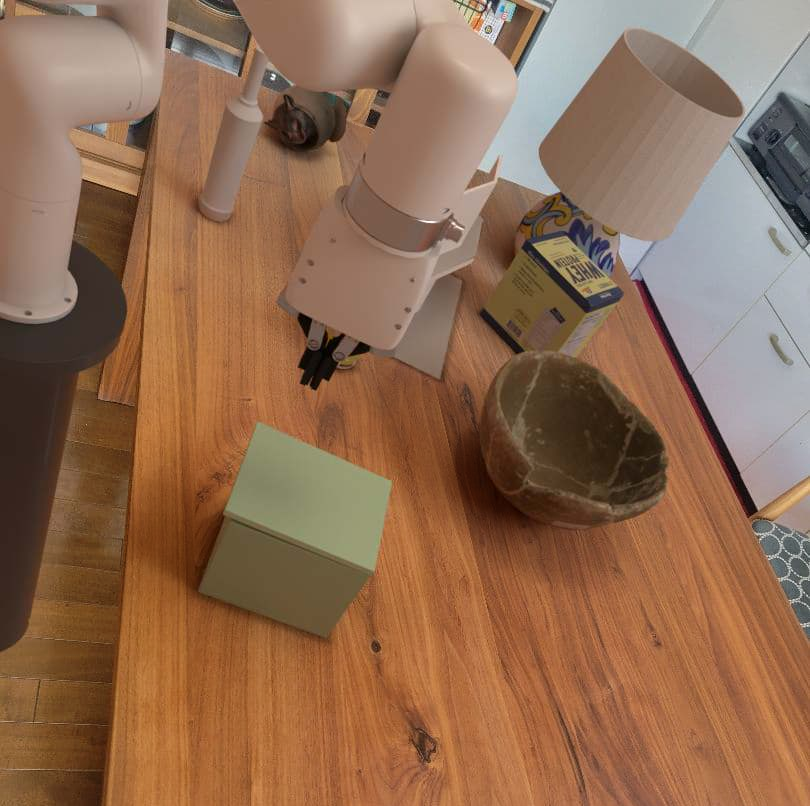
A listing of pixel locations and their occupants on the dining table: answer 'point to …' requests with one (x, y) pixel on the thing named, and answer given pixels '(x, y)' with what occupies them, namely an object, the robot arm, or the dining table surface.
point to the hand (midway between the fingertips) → (311, 377)
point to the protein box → (551, 297)
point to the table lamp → (633, 147)
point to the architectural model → (445, 285)
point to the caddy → (279, 579)
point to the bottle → (234, 145)
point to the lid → (310, 498)
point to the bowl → (569, 443)
